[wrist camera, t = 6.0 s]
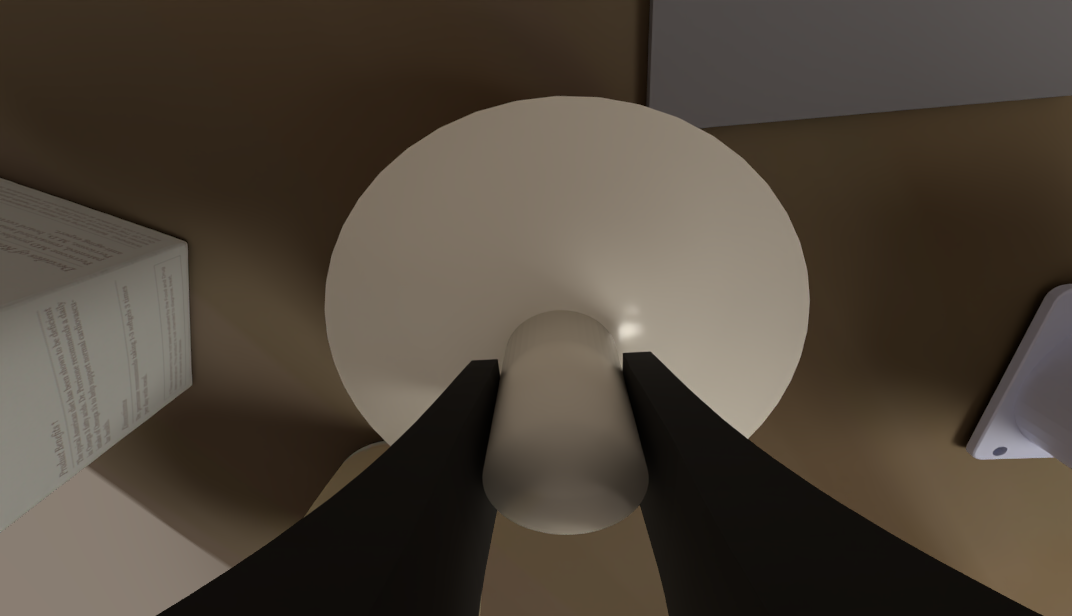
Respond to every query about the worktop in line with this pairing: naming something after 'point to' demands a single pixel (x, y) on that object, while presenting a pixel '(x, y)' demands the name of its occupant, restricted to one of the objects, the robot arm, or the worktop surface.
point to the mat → (851, 56)
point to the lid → (566, 291)
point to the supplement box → (81, 338)
